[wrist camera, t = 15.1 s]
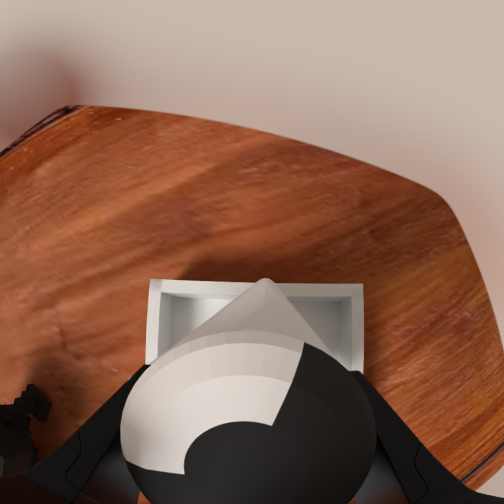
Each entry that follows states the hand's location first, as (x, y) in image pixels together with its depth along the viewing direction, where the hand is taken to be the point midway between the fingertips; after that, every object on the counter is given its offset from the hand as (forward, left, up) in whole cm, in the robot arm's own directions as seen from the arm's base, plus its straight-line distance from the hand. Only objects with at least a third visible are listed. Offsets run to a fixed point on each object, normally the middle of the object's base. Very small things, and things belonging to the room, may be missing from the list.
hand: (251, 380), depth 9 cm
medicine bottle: (-1, +1, -8) cm, 8 cm away
